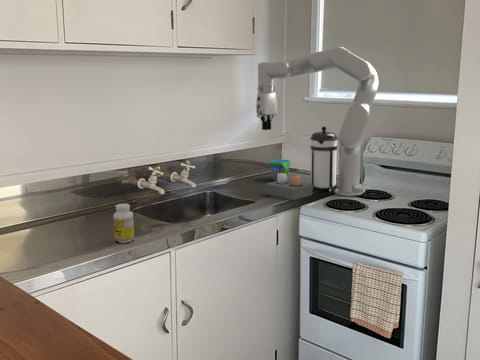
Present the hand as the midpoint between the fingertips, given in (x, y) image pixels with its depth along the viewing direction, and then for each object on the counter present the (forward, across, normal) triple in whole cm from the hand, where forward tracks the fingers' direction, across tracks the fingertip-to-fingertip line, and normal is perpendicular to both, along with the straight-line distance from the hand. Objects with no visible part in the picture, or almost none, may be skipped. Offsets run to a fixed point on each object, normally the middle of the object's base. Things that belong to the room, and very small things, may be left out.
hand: (266, 129), depth 253 cm
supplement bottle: (+29, -89, -18) cm, 95 cm away
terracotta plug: (+25, 0, -18) cm, 31 cm away
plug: (+25, 0, -10) cm, 27 cm away
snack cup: (+29, +21, +11) cm, 38 cm away
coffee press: (+29, +21, -17) cm, 40 cm away
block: (+29, 0, -14) cm, 32 cm away
